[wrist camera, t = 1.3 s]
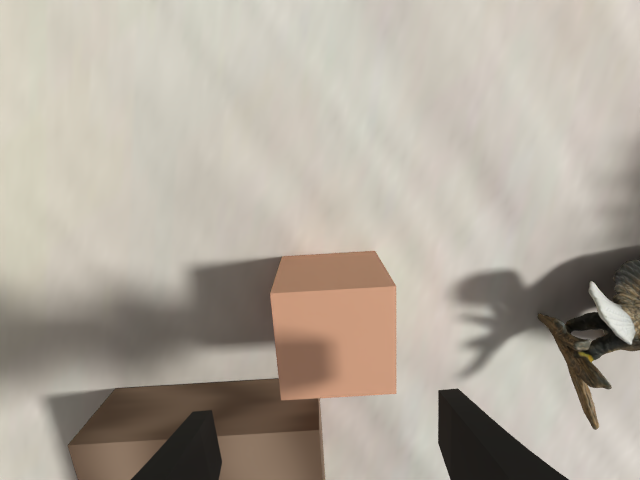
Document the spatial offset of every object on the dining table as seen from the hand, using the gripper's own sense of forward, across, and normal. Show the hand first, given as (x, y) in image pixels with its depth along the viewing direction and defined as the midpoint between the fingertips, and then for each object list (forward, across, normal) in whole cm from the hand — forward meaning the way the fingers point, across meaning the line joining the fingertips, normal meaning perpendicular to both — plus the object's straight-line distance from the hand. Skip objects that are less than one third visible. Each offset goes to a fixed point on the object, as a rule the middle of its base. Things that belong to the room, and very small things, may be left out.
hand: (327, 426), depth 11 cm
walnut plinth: (+8, +7, +10) cm, 15 cm away
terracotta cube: (+9, -1, -1) cm, 9 cm away
